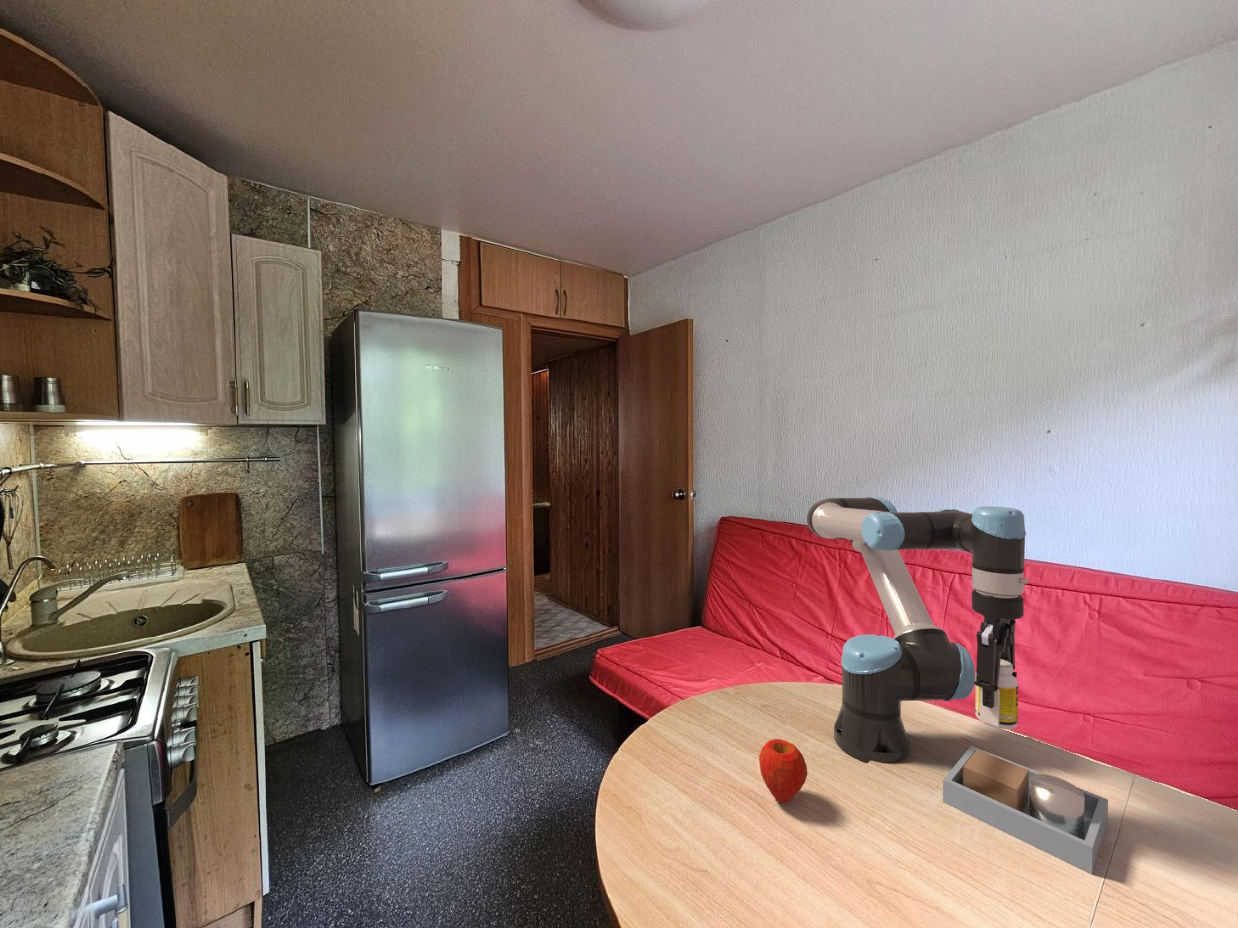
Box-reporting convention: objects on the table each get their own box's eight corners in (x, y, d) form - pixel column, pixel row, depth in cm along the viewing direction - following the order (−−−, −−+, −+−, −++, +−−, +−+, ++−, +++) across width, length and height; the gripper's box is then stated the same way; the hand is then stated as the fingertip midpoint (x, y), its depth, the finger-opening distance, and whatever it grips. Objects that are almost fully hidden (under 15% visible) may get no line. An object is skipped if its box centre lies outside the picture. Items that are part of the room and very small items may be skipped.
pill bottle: (1025, 732, 86) (1026, 671, 86) (985, 728, 88) (986, 668, 87) (1005, 713, 92) (1006, 656, 92) (968, 710, 94) (969, 653, 93)
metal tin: (1024, 825, 85) (1025, 785, 85) (1034, 805, 89) (1035, 768, 89) (1079, 850, 79) (1080, 808, 79) (1087, 828, 84) (1088, 789, 83)
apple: (813, 797, 93) (813, 742, 93) (795, 823, 87) (795, 764, 87) (771, 777, 99) (771, 725, 99) (751, 800, 93) (750, 744, 92)
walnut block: (962, 797, 91) (963, 766, 91) (976, 779, 96) (976, 749, 96) (1016, 822, 85) (1017, 789, 85) (1028, 801, 90) (1028, 769, 90)
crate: (942, 806, 91) (943, 779, 90) (971, 769, 101) (971, 745, 100) (1091, 879, 75) (1092, 847, 75) (1107, 827, 85) (1108, 799, 85)
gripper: (1006, 608, 80) (1004, 745, 81) (1037, 586, 92) (1035, 706, 93) (954, 597, 86) (952, 725, 87) (989, 578, 98) (987, 691, 99)
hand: (995, 715), depth 90 cm, fingers closed on pill bottle, 6 cm apart
